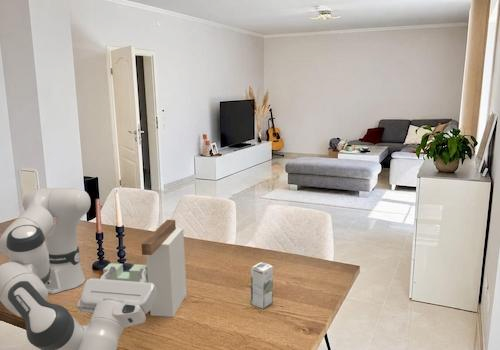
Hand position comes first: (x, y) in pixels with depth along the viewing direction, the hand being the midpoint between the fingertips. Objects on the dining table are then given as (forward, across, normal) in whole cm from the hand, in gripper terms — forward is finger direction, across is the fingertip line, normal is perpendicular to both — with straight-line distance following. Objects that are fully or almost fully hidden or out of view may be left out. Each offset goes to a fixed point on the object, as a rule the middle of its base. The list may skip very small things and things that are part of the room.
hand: (128, 268), depth 120 cm
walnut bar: (+18, +1, -12) cm, 22 cm away
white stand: (+8, +1, -36) cm, 37 cm away
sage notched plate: (+3, -11, -33) cm, 35 cm away
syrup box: (+12, +34, -39) cm, 53 cm away
